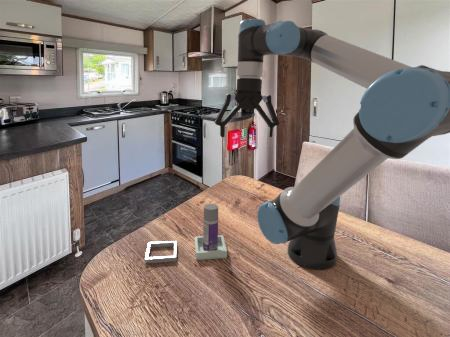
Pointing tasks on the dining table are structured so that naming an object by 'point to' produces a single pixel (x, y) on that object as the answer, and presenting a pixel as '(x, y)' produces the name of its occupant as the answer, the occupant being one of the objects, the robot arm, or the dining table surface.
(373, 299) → the dining table surface
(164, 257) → the collar
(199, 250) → the tray
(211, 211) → the container
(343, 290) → the dining table surface
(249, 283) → the dining table surface
